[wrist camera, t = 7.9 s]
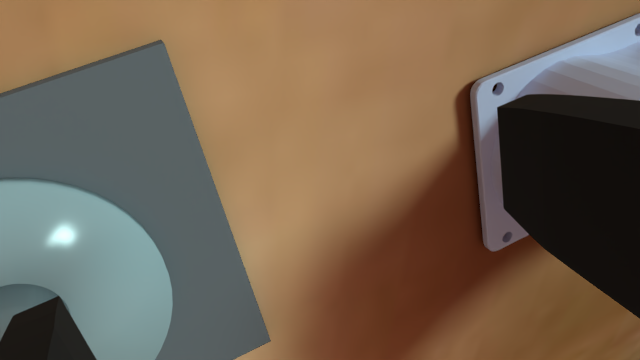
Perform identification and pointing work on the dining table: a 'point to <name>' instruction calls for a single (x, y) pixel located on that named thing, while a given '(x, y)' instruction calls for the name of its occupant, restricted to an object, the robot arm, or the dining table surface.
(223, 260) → the mat
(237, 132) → the dining table surface
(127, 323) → the lid
